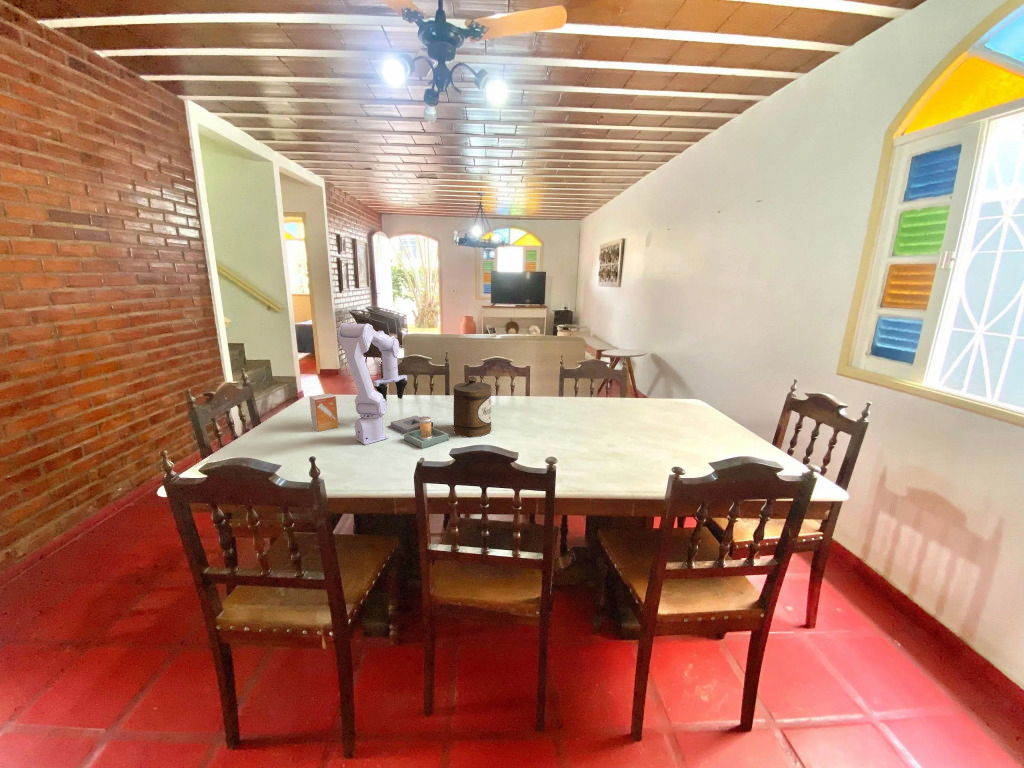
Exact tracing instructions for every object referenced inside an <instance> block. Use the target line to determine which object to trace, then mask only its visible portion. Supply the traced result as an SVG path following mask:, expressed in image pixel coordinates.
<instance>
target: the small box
mask: <svg viewBox="0 0 1024 768" xmlns="http://www.w3.org/2000/svg"><path fill="white" fill-rule="evenodd" d="M308 397H309V407H310V408H309V409H310V416H311V417H310V418H311V426H312V428H313V429H314V430H316V431H317V432H319V433H320V432H322V431H323V432H324V431H326V430H331V429H336V428H339V418H338V406H337V397H336V395H335V394H333V393H331V392H329V393H322V394H317V395H312V396H311V395H310V396H308Z"/></svg>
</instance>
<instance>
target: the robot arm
mask: <svg viewBox="0 0 1024 768" xmlns="http://www.w3.org/2000/svg"><path fill="white" fill-rule="evenodd" d="M337 339H338V341H339V343H340V346H341V349H342V351H343V352H344V354H345V358H346V361H347V363H348V367H349V369H350V372H351V375H352V378H353V380H354V383H355V386H356V388H357V392H358V394H357V395H356V397H354V398H355V399H354V403H355V412H356V413H357V414H358V415H359V418H356V419H355V422H354V430H355V438H354V439H355V440H356V441H358V442H359V443H360V444H363V445H365V446H366V445H369V444H373V443H377V442H379V441H383V440H387V439H389V436H388V435H385V431H384V420H383V419H384V416H385V414H386V413H387V410H388V403H387V400H388V399H387V391H388V386H386V385H388V384H393V383H395V386H396V387H395V388H396V393H397V394H396V395H397V399H400V400H401V399H403V395H404V392H405V388H406V386H407V384H408V375H406V374H403V375H401V374H400V375H399V369H398V356H399V349H400V342H399V340H398V338H396V337H391V336H390V334H389V335H388V334H386V333H385V332H384V330H378V331H376V330H375V329H374V327H373V325H372V324H370V323H347V322H342V323H341V324H340V325H339V327H338V331H337ZM371 344H372V345H373V346H375V347H376V348H378V350H379V352H380V353H381V361H382V376H383V377H382V378H379V379H377V380H372V377H371V375H370V371H369V369H368V366H367V363H366V359H365V357H364V354H365V353H367V352H368V351H369V349H370V346H371Z"/></svg>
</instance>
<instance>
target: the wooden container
mask: <svg viewBox="0 0 1024 768" xmlns="http://www.w3.org/2000/svg"><path fill="white" fill-rule="evenodd" d="M453 432H454V434H455V435H457V436H460V437H464V438H478V437H483V436H486V435H488V434H490V433H491V432H492V385H491V384H489V383H486V382H481V381H479V382H478V381H477V377H476V376H474V375H472V376H469V377H468V378H467V381H465V382H460V383H456V384H454V386H453Z"/></svg>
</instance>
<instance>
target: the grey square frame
mask: <svg viewBox="0 0 1024 768" xmlns="http://www.w3.org/2000/svg"><path fill="white" fill-rule="evenodd" d="M421 417H422V416H421ZM421 417H420V416H419V415H413V416H409V417H405V418H401V419H398V420H397V419H396V420H393V421H390V427H391V428H393V429H395V430H397V431H399V432H401V433H403V434H405V433H408V432H412V431H415V430H419V429H420V418H421ZM431 427H433V428H434V421H433V422H432V421H431Z"/></svg>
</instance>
